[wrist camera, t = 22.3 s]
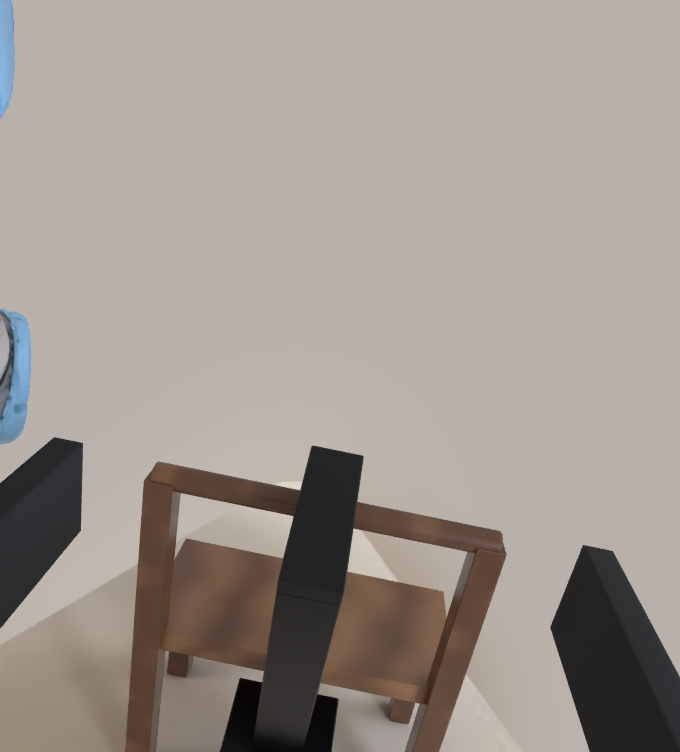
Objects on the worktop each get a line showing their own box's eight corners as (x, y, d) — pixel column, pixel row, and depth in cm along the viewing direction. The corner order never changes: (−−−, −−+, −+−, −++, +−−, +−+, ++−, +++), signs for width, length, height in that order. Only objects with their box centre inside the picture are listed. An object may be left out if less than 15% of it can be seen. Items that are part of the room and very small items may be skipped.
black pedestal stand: (321, 821, 37) (385, 644, 25) (208, 797, 37) (220, 609, 25) (343, 651, 46) (398, 462, 34) (253, 632, 46) (277, 437, 34)
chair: (123, 772, 41) (144, 469, 32) (173, 657, 50) (200, 397, 41) (411, 834, 40) (510, 544, 32) (408, 706, 49) (485, 454, 41)
